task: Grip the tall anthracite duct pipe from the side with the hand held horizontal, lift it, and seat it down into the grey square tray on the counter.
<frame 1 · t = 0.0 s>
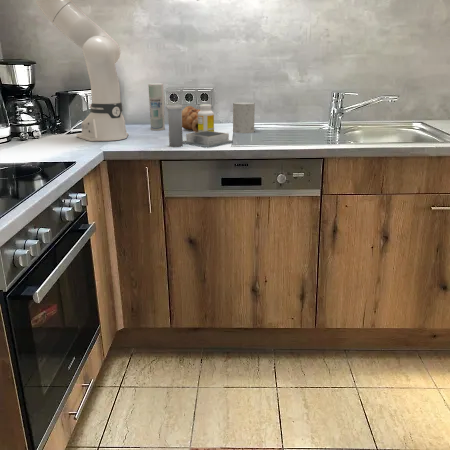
grey cylinder: (243, 131, 221), on the worktop
supplement bottle: (206, 136, 209), on the worktop
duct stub: (176, 145, 187), on the worktop
spray can: (157, 130, 226), on the worktop
grey square tray: (207, 143, 193), on the worktop
orange brown lumpy figure: (195, 131, 222), on the worktop
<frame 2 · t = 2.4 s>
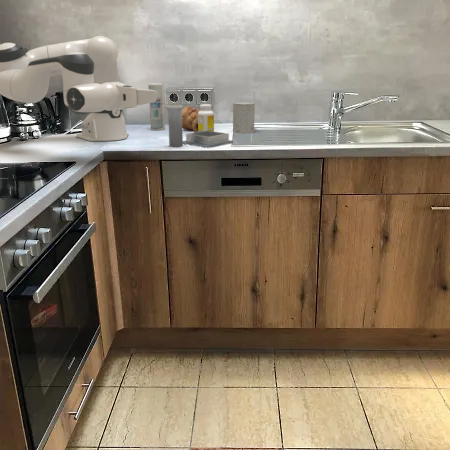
hand: (148, 93, 172), 20 cm above the worktop, tool horizontal, fingers open, 8 cm apart
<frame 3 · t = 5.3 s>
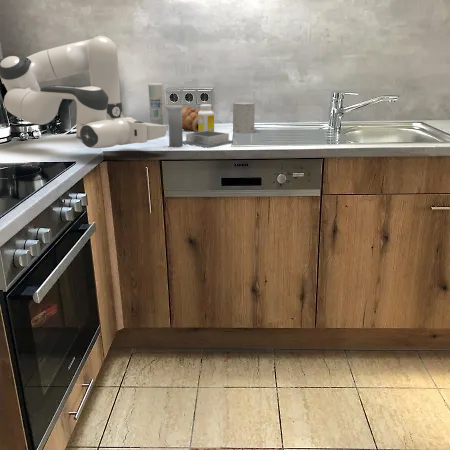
hand: (157, 126, 178), 8 cm above the worktop, tool horizontal, fingers open, 8 cm apart
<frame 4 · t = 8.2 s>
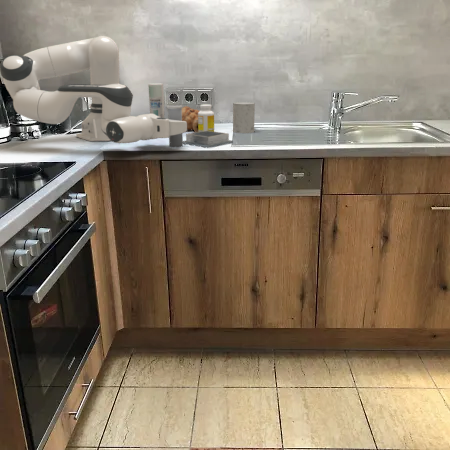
hand: (178, 122, 186), 9 cm above the worktop, tool horizontal, fingers closed on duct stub, 5 cm apart
supplement bottle: (206, 136, 208), on the worktop, touching orange brown lumpy figure
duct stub: (176, 145, 187), on the worktop, touching gripper
orange brown lumpy figure: (194, 132, 221), on the worktop, touching supplement bottle
everything else where it was.
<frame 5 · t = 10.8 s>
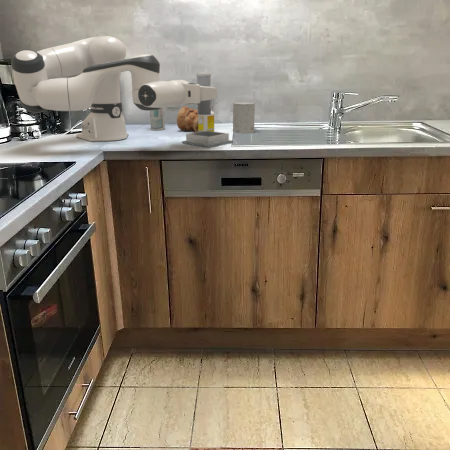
hand: (206, 90, 186), 20 cm above the worktop, tool horizontal, fingers closed on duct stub, 5 cm apart
supplement bottle: (206, 136, 208), on the worktop
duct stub: (204, 114, 188), point 11 cm above the worktop, touching gripper
orange brown lumpy figure: (193, 132, 220), on the worktop
everything else where it was.
when the fingers open (10 cm above the worktop, at t = 13.4 s): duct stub stays where it is, resting on grey square tray.
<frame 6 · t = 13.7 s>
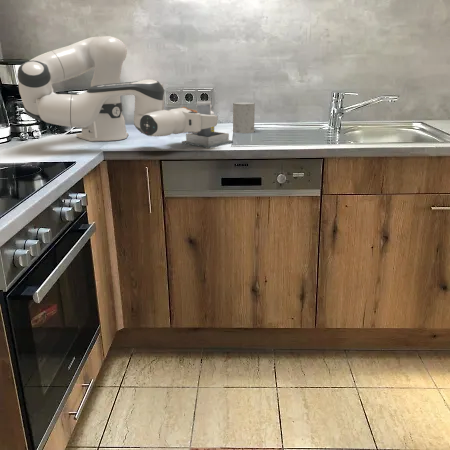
hand: (207, 117, 189), 10 cm above the worktop, tool horizontal, fingers open, 8 cm apart
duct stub: (204, 141, 191), point 1 cm above the worktop, touching grey square tray
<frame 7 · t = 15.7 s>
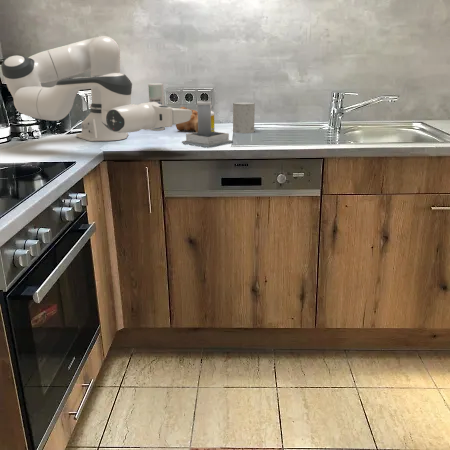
hand: (181, 111, 178), 13 cm above the worktop, tool horizontal, fingers open, 8 cm apart
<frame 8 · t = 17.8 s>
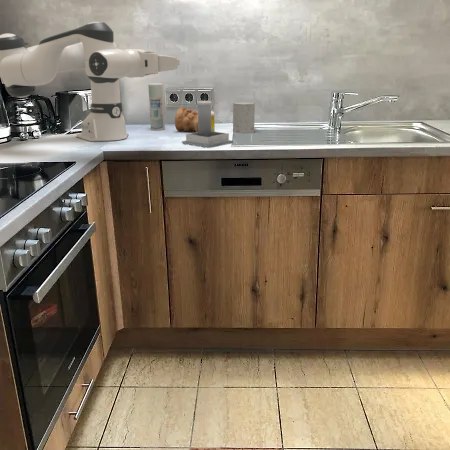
hand: (168, 62, 172), 30 cm above the worktop, tool horizontal, fingers open, 8 cm apart
at the end: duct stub 1.6 cm off-centre on the grey square tray, point 0.8 cm above the grey square tray's base; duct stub tilted 0°; the gripper is holding nothing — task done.
